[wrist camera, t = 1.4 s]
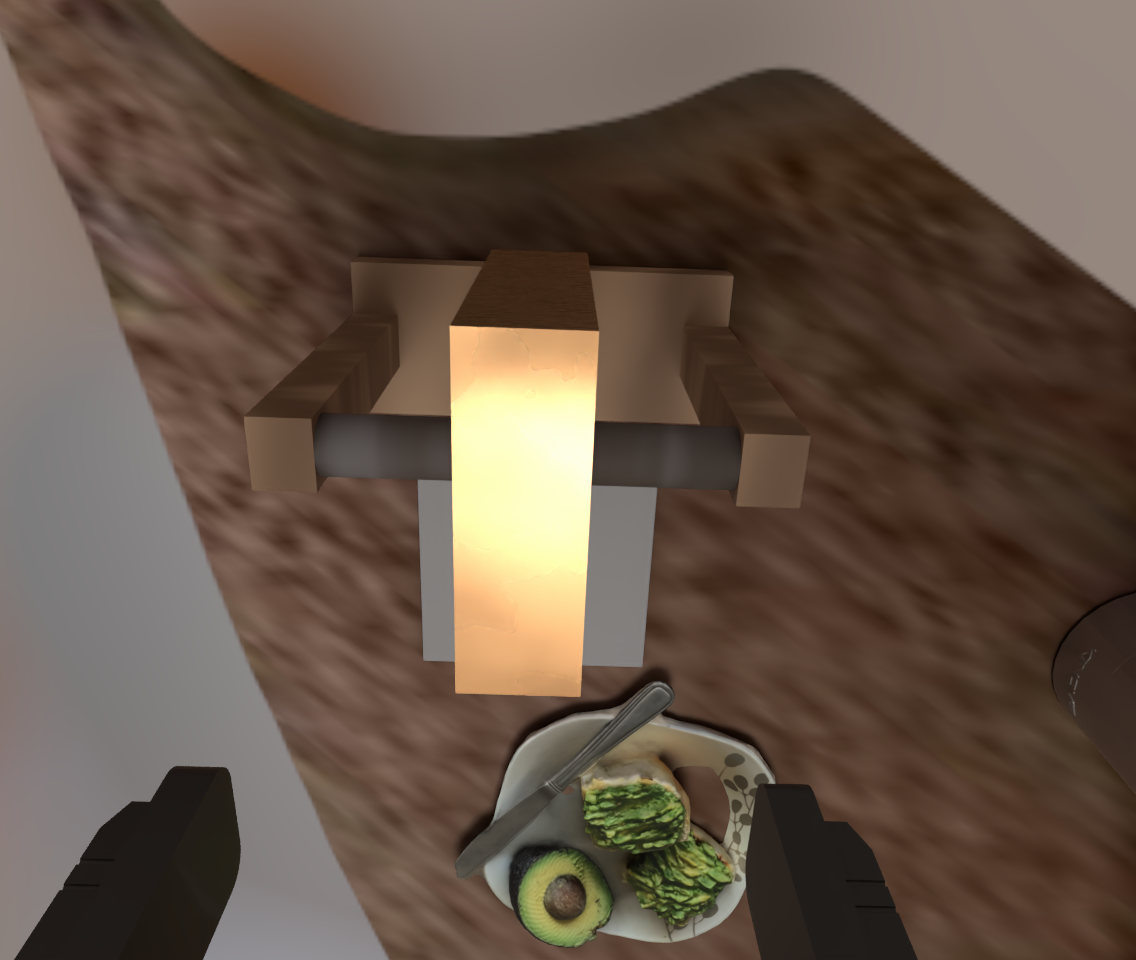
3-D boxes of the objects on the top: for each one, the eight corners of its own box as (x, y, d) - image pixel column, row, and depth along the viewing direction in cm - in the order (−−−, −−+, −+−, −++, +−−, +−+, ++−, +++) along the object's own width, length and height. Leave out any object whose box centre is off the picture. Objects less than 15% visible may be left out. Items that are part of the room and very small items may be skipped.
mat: (657, 460, 44) (659, 464, 43) (641, 660, 48) (642, 667, 48) (418, 452, 43) (417, 456, 43) (425, 654, 48) (423, 660, 48)
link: (587, 252, 32) (599, 331, 20) (575, 509, 36) (580, 696, 24) (491, 249, 32) (449, 325, 20) (491, 507, 36) (455, 692, 24)
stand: (727, 270, 40) (822, 361, 25) (712, 414, 43) (789, 573, 28) (358, 256, 40) (235, 341, 25) (366, 402, 42) (259, 556, 28)
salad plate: (522, 631, 48) (517, 681, 44) (822, 702, 50) (846, 757, 46) (445, 881, 55) (435, 945, 51) (710, 935, 57) (722, 1001, 53)
